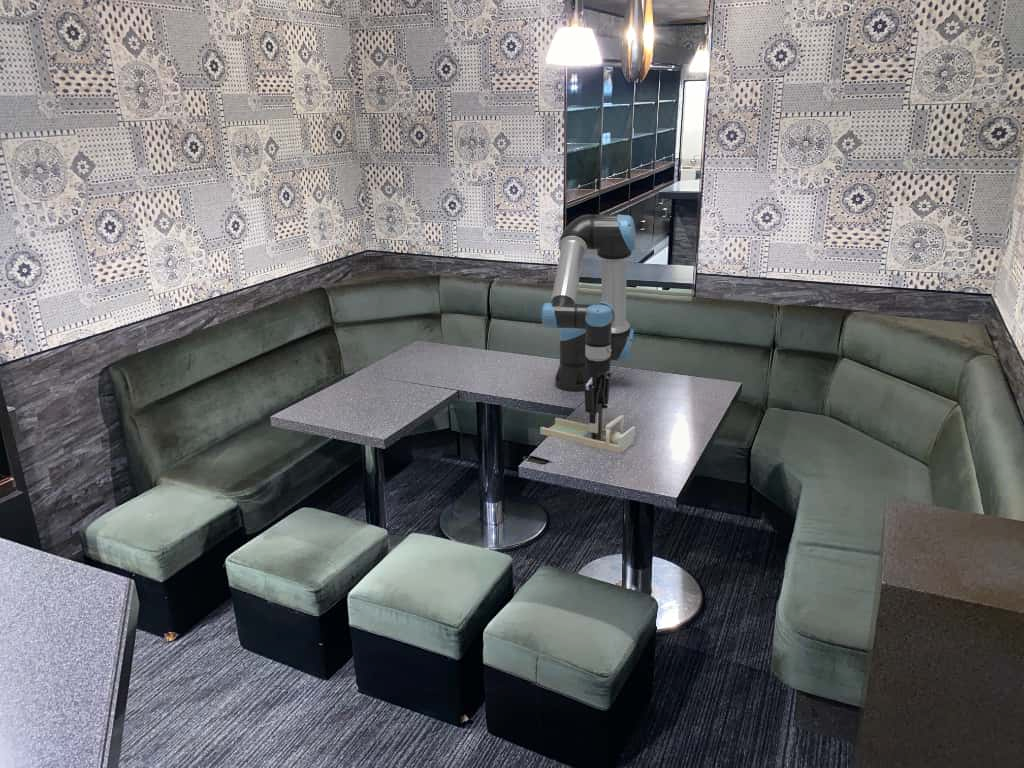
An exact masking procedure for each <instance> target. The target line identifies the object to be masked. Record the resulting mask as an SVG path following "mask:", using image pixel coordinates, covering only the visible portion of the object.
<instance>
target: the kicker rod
mask: <svg viewBox="0 0 1024 768" xmlns="http://www.w3.org/2000/svg"><path fill="white" fill-rule="evenodd" d="M597 413H598V433H593V432H588V433H587V434H585V435H584V436H583V437H586V438H590V439H594V440H599V441H603V442H606V434H605V433H601V416H602V403H601V402H599V401H598V406H597ZM610 430H611V431H610V436H611V435H612V434H613V433H615V431H616V430H614V429H610ZM610 443H611V441H610Z"/></svg>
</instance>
